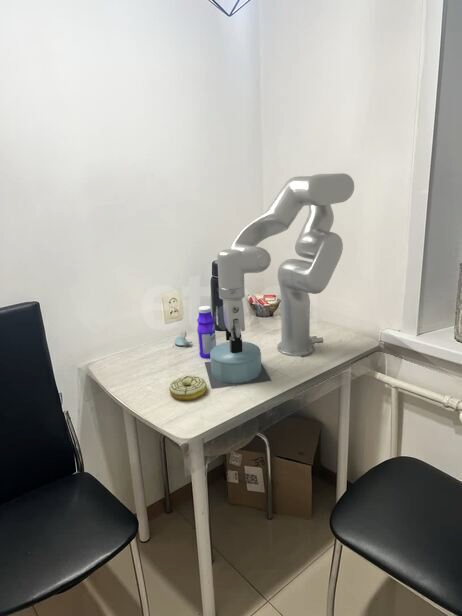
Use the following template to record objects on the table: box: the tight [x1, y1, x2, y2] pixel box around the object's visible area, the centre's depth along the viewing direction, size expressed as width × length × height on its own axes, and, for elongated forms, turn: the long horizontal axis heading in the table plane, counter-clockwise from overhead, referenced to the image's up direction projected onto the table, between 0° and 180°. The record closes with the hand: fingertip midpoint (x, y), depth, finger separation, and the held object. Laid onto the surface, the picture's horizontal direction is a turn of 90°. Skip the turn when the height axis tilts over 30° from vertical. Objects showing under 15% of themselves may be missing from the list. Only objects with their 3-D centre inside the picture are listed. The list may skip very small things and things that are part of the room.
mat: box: [204, 360, 273, 390], centre depth 129 cm, size 18×18×1 cm
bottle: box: [196, 305, 217, 359], centre depth 139 cm, size 7×6×17 cm
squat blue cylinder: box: [209, 336, 262, 383], centre depth 127 cm, size 15×15×11 cm
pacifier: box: [172, 329, 193, 350], centre depth 150 cm, size 7×6×6 cm
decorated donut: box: [168, 375, 208, 402], centre depth 118 cm, size 10×11×4 cm
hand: (234, 345), depth 126 cm, fingers open, 9 cm apart
